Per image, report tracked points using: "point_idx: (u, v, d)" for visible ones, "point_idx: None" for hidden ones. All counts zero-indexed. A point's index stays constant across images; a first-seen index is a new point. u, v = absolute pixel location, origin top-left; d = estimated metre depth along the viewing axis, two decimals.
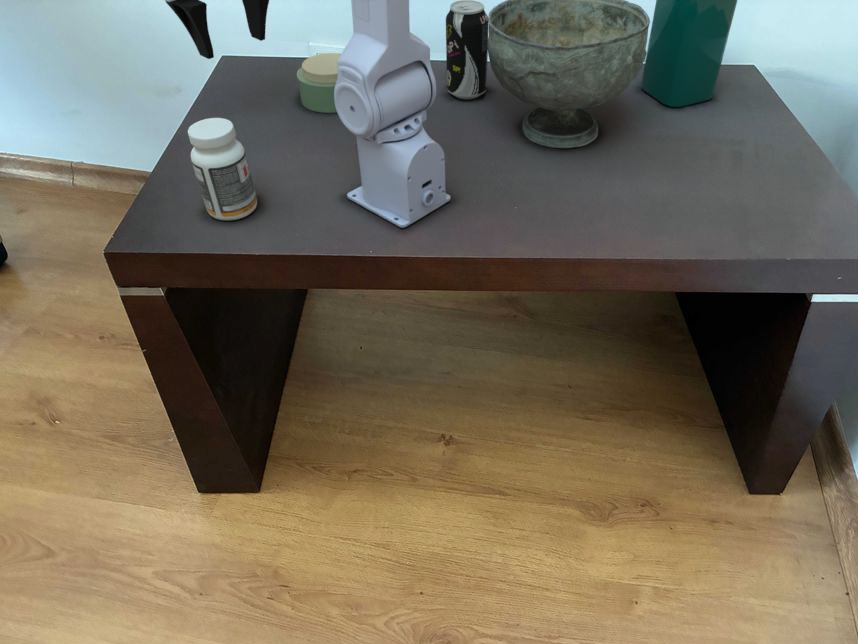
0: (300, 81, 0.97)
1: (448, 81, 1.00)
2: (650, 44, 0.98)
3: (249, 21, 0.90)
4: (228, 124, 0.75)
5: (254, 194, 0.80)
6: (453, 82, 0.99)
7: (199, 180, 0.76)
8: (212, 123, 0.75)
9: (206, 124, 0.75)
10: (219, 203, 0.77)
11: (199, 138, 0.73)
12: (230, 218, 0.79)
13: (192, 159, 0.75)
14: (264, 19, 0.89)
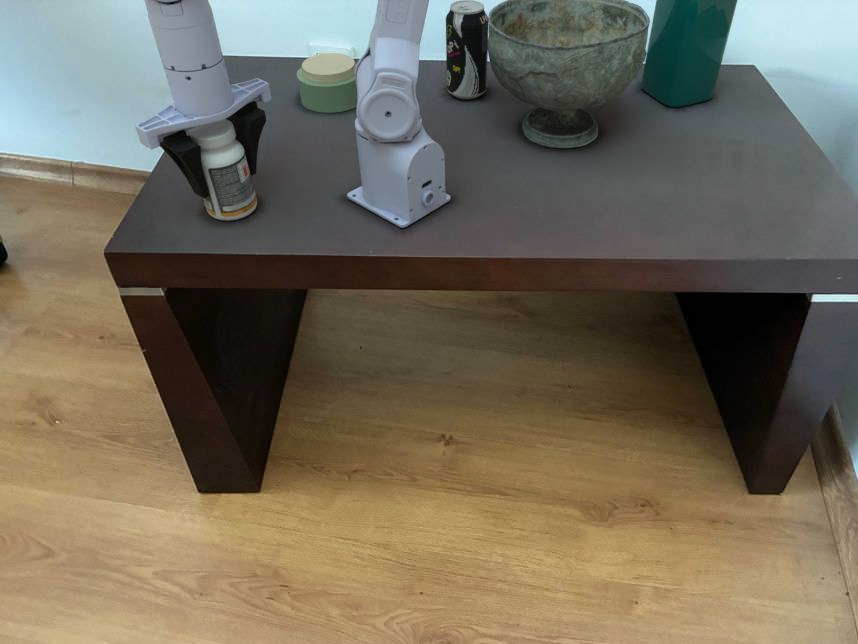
0: (300, 81, 0.97)
1: (448, 81, 1.00)
2: (650, 44, 0.98)
3: None
4: (228, 124, 0.75)
5: (254, 194, 0.80)
6: (453, 82, 0.99)
7: None
8: (212, 123, 0.75)
9: (206, 124, 0.75)
10: (219, 203, 0.77)
11: (199, 139, 0.73)
12: (230, 218, 0.79)
13: None
14: (255, 154, 0.78)
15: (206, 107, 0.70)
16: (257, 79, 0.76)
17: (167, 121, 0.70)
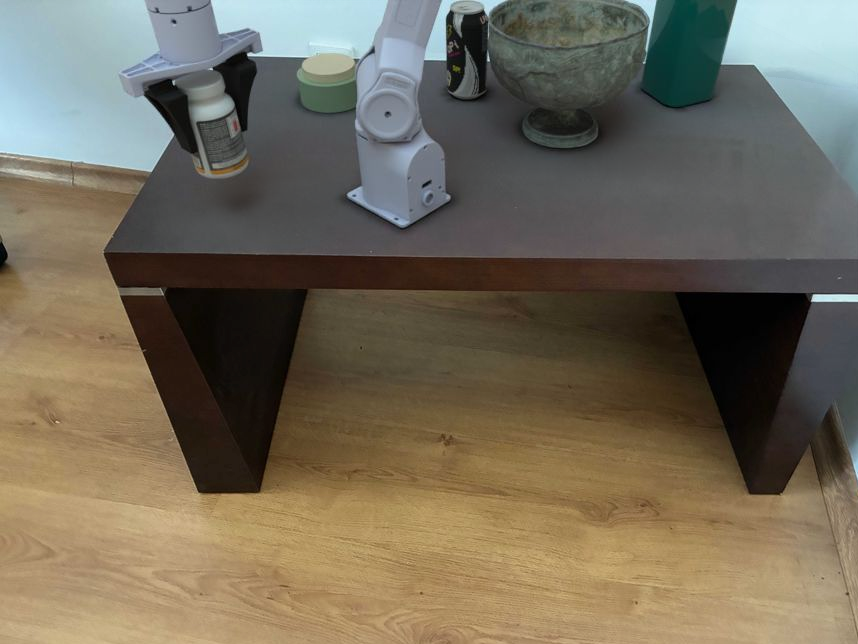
0: (300, 81, 0.97)
1: (448, 81, 1.00)
2: (650, 44, 0.98)
3: None
4: (217, 75, 0.71)
5: (245, 152, 0.77)
6: (453, 82, 0.99)
7: None
8: (200, 74, 0.71)
9: (194, 75, 0.71)
10: (208, 160, 0.74)
11: (186, 89, 0.69)
12: (220, 176, 0.75)
13: None
14: (246, 108, 0.75)
15: (193, 53, 0.66)
16: (247, 29, 0.73)
17: (152, 68, 0.66)
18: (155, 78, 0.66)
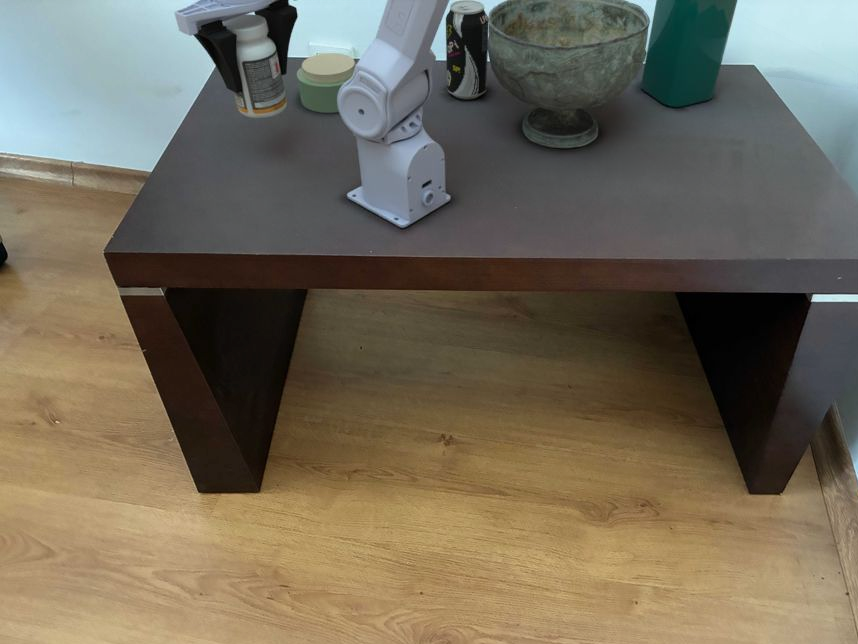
0: (300, 81, 0.97)
1: (448, 81, 1.00)
2: (650, 44, 0.98)
3: None
4: (261, 19, 0.77)
5: (284, 93, 0.82)
6: (453, 82, 0.99)
7: None
8: (245, 18, 0.77)
9: (240, 19, 0.77)
10: (251, 99, 0.80)
11: (234, 30, 0.75)
12: (261, 115, 0.81)
13: None
14: (286, 52, 0.81)
15: None
16: None
17: (205, 8, 0.72)
18: (208, 17, 0.72)
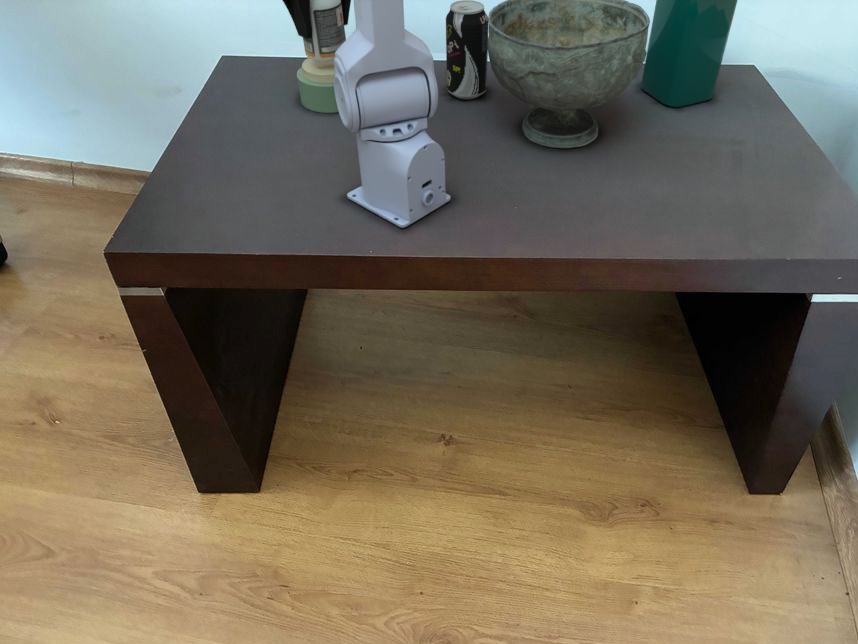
0: (300, 81, 0.97)
1: (448, 81, 1.00)
2: (650, 44, 0.98)
3: None
4: None
5: None
6: (453, 82, 0.99)
7: None
8: None
9: None
10: (319, 44, 0.93)
11: None
12: (327, 59, 0.95)
13: None
14: (348, 5, 0.94)
15: None
16: None
17: None
18: None
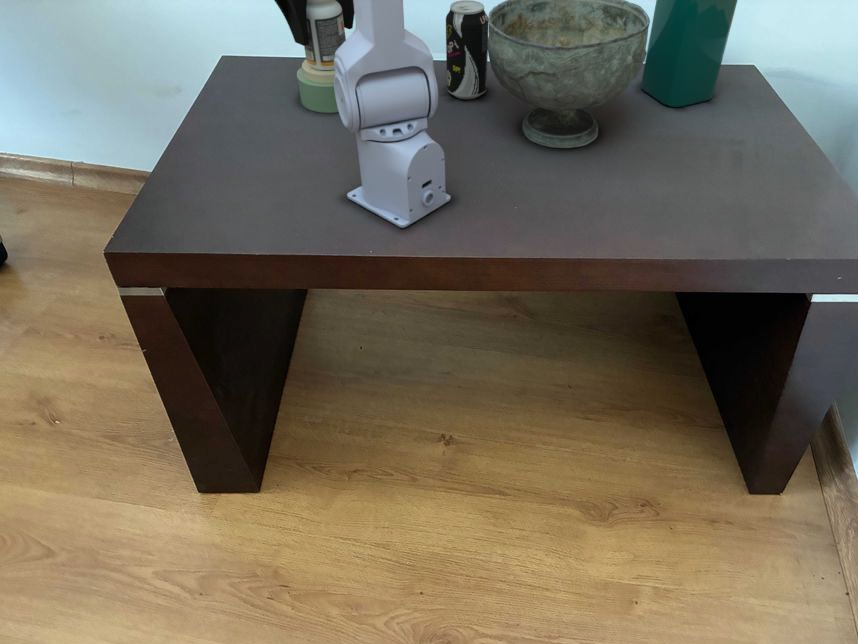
0: (300, 81, 0.97)
1: (448, 81, 1.00)
2: (650, 44, 0.98)
3: None
4: None
5: None
6: (453, 82, 0.99)
7: None
8: None
9: None
10: (320, 53, 0.94)
11: None
12: (328, 67, 0.95)
13: None
14: (353, 9, 0.95)
15: None
16: None
17: None
18: None
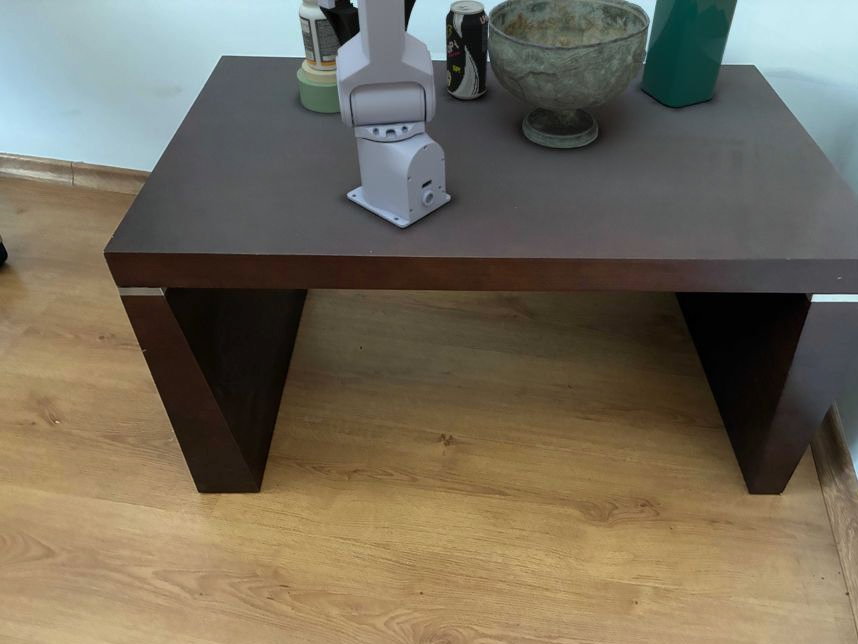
0: (300, 81, 0.97)
1: (448, 81, 1.00)
2: (650, 44, 0.98)
3: None
4: None
5: None
6: (453, 82, 0.99)
7: (305, 33, 0.93)
8: None
9: None
10: (320, 53, 0.94)
11: None
12: (328, 67, 0.95)
13: (301, 13, 0.92)
14: (406, 25, 0.90)
15: None
16: None
17: None
18: None
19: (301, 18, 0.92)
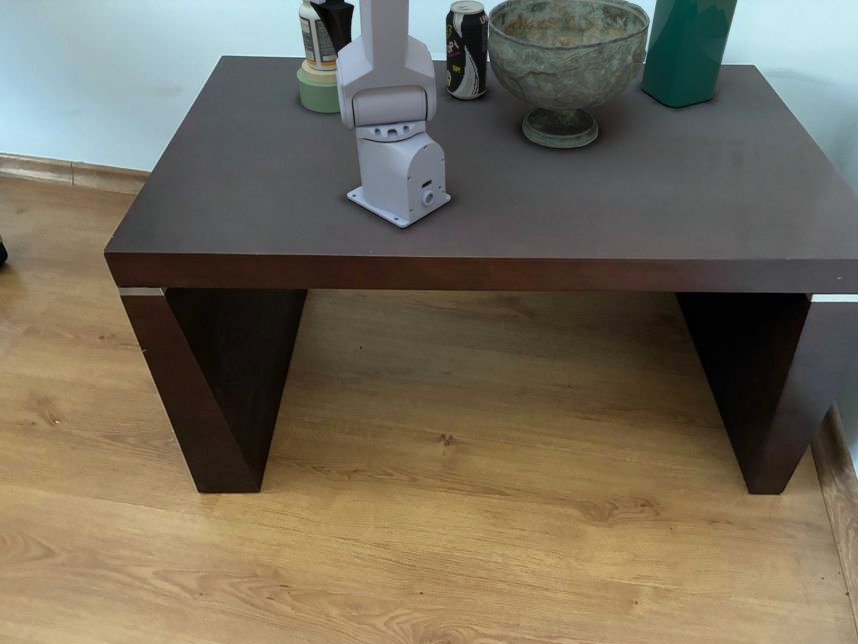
0: (300, 81, 0.97)
1: (448, 81, 1.00)
2: (650, 44, 0.98)
3: None
4: None
5: None
6: (453, 82, 0.99)
7: (305, 33, 0.93)
8: None
9: None
10: (320, 53, 0.94)
11: None
12: (328, 67, 0.95)
13: (301, 13, 0.92)
14: None
15: None
16: None
17: None
18: None
19: (301, 18, 0.92)
